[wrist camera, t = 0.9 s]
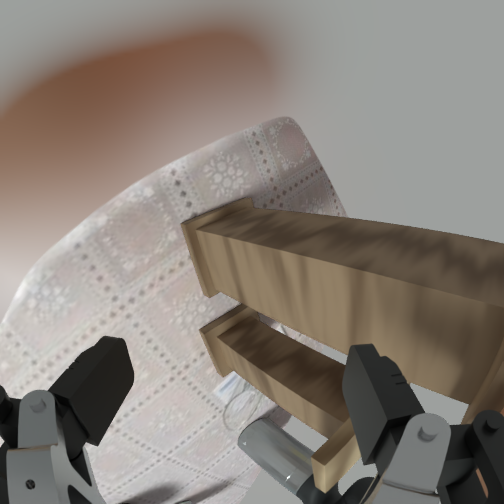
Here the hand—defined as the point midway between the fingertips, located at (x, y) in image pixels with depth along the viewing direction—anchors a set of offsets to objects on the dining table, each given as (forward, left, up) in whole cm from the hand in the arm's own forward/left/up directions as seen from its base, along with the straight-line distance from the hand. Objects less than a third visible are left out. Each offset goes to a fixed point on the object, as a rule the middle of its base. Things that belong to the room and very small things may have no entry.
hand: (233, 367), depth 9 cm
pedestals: (-17, -4, -24) cm, 30 cm away
